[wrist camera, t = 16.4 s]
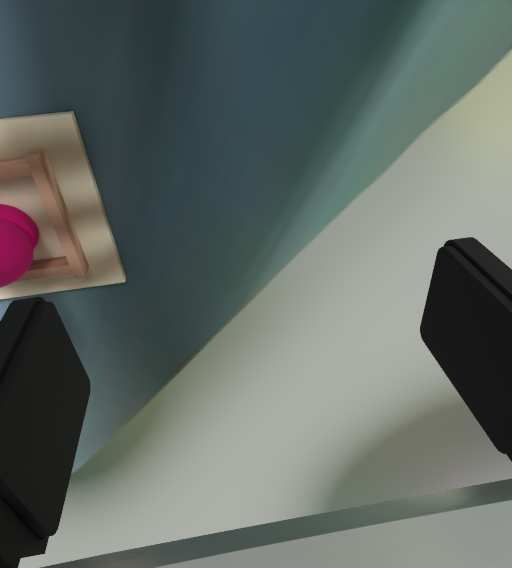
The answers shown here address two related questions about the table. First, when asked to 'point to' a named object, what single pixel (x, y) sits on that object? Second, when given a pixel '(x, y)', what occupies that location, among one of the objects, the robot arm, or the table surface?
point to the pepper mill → (15, 243)
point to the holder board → (56, 205)
